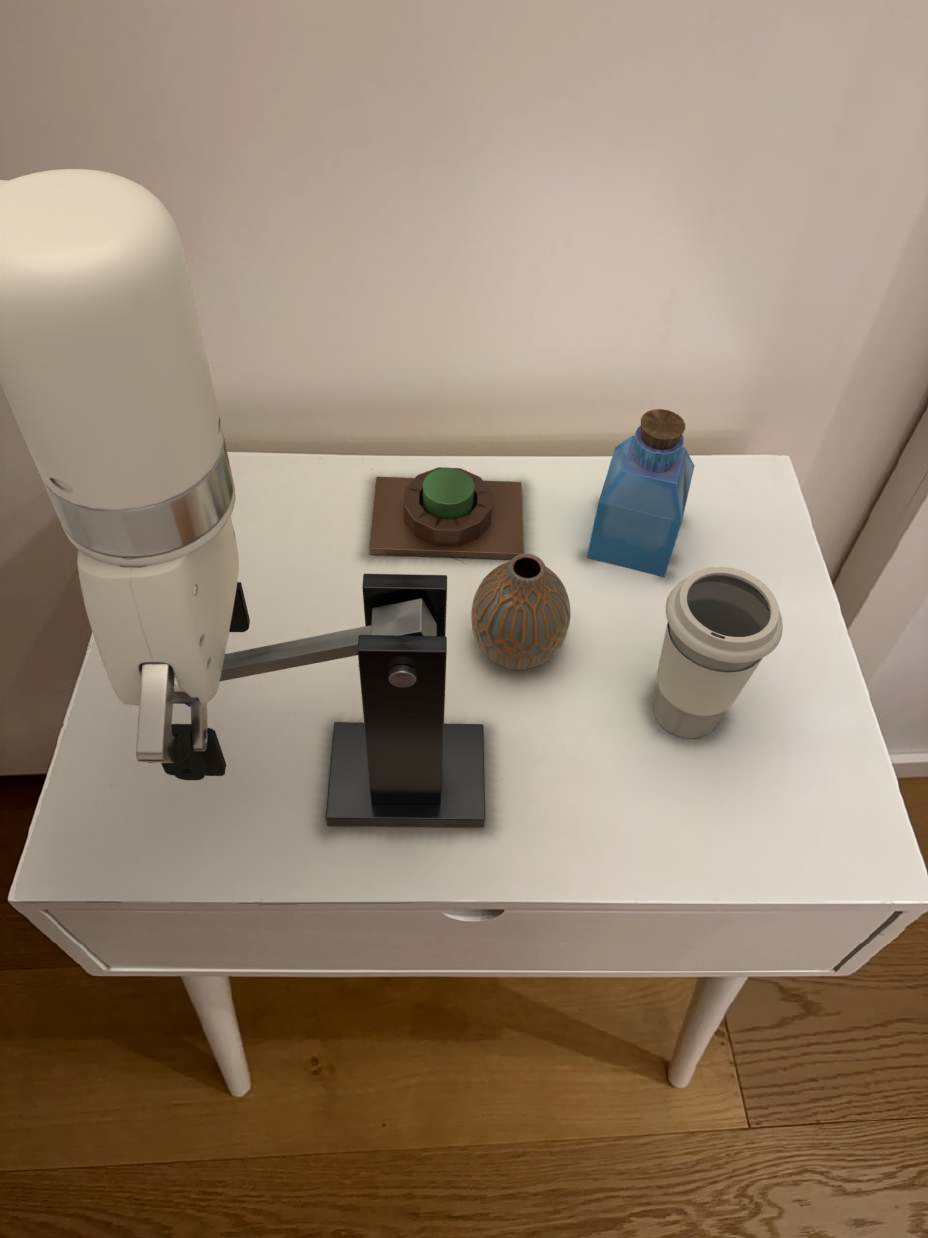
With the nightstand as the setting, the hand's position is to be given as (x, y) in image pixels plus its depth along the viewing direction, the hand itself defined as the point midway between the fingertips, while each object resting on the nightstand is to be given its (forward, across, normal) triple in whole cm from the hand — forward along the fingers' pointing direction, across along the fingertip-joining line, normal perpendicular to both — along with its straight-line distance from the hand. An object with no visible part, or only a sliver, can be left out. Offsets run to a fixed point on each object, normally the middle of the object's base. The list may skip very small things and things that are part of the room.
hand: (211, 695), depth 55 cm
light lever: (-3, 0, +6) cm, 7 cm away
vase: (+10, -11, +19) cm, 24 cm away
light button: (+7, -23, +14) cm, 28 cm away
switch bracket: (+10, 0, +11) cm, 15 cm away
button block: (+10, -23, +14) cm, 29 cm away
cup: (+10, -6, +30) cm, 32 cm away
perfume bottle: (+10, -22, +28) cm, 37 cm away
